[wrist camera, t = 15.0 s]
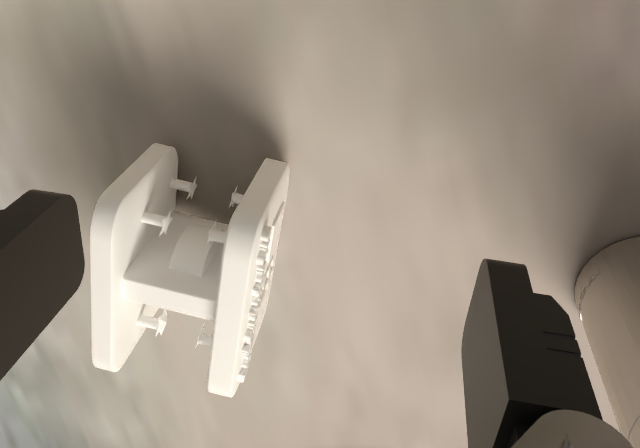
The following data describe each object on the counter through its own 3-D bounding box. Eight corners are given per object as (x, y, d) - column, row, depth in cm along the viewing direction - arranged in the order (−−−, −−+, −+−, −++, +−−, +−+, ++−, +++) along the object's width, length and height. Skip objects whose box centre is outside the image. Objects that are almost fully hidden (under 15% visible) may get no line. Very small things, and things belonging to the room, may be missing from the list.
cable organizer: (161, 120, 44) (84, 190, 34) (302, 153, 44) (265, 234, 34) (153, 282, 52) (88, 378, 42) (272, 312, 51) (235, 416, 41)
